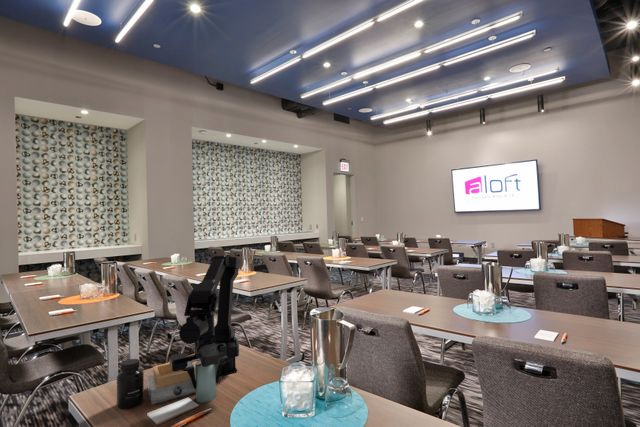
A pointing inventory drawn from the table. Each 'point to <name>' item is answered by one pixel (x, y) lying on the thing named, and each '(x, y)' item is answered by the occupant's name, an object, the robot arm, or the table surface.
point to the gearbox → (168, 383)
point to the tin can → (205, 382)
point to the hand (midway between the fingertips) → (205, 385)
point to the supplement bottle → (130, 385)
